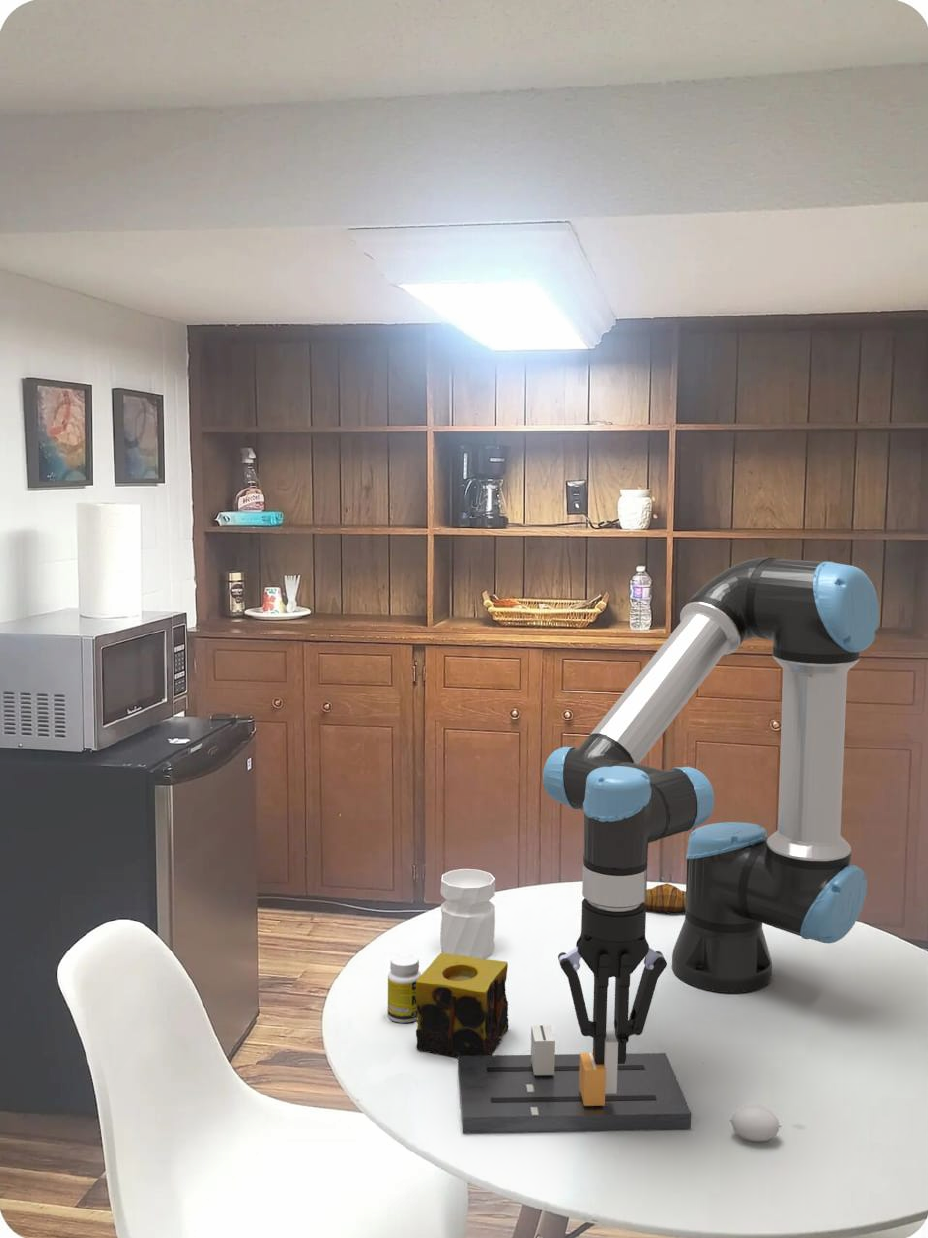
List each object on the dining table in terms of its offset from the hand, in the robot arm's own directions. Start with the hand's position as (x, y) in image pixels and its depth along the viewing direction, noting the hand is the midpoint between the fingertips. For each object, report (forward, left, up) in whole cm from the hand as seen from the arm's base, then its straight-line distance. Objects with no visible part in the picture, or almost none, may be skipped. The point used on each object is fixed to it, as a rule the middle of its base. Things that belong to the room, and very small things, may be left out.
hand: (608, 1087), depth 138 cm
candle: (+17, -19, -4) cm, 25 cm away
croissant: (-21, -64, -4) cm, 67 cm away
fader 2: (+2, 0, -1) cm, 2 cm away
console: (+4, -4, -4) cm, 6 cm away
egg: (-16, +5, -4) cm, 18 cm away
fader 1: (+7, -7, -1) cm, 10 cm away
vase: (+15, -48, -4) cm, 50 cm away
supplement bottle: (+25, -26, -4) cm, 36 cm away
